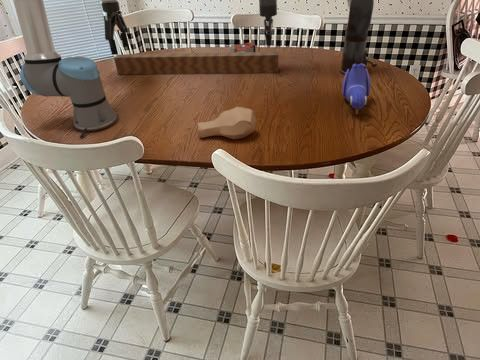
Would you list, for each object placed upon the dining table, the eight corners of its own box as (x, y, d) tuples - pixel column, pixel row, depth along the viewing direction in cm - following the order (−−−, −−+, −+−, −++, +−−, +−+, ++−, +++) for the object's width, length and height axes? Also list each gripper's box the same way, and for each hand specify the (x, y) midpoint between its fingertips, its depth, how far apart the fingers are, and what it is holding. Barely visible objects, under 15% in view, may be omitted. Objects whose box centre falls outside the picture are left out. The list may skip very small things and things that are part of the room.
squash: (259, 140, 116) (255, 118, 110) (200, 150, 118) (193, 129, 112) (256, 120, 124) (253, 99, 117) (201, 130, 126) (194, 109, 119)
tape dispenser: (247, 68, 177) (266, 54, 190) (247, 57, 174) (266, 44, 186) (218, 62, 185) (238, 48, 197) (217, 52, 181) (238, 39, 194)
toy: (340, 103, 144) (343, 119, 122) (342, 60, 138) (346, 69, 115) (366, 103, 142) (373, 119, 120) (369, 59, 135) (378, 68, 113)
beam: (117, 74, 176) (113, 57, 171) (121, 71, 180) (117, 54, 175) (278, 72, 166) (278, 55, 161) (278, 69, 170) (278, 51, 165)
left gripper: (105, 5, 148) (117, 57, 160) (127, -3, 168) (137, 43, 180) (88, 6, 149) (102, 58, 161) (112, -3, 169) (123, 43, 181)
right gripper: (276, 6, 145) (276, 46, 155) (277, -1, 157) (277, 37, 166) (257, 7, 146) (259, 47, 156) (260, 0, 158) (261, 38, 167)
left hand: (120, 50), depth 170 cm, fingers open, 13 cm apart
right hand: (269, 42), depth 161 cm, fingers open, 8 cm apart
